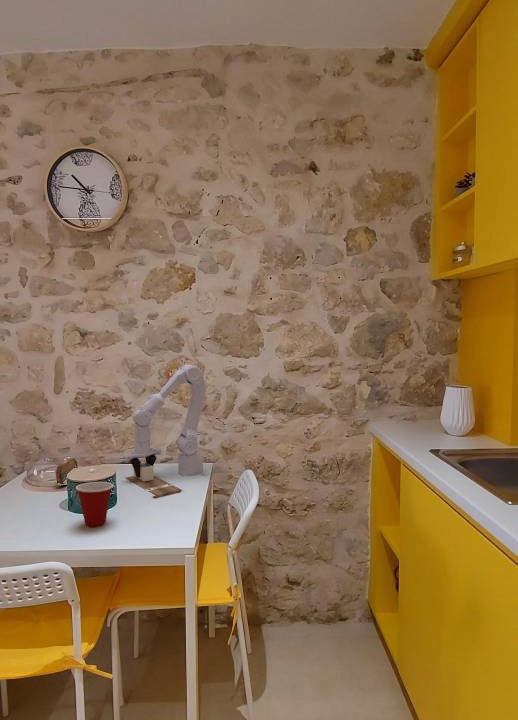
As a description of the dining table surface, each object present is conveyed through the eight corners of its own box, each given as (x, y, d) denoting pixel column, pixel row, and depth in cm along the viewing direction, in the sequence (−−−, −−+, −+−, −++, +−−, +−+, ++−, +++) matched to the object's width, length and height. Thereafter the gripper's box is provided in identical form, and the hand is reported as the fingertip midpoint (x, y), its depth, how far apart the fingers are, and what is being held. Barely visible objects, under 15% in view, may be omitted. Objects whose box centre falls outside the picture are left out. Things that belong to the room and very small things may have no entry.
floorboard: (148, 475, 199) (148, 472, 199) (181, 492, 179) (181, 488, 179) (124, 480, 193) (124, 477, 193) (155, 498, 173) (155, 495, 173)
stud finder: (143, 474, 196) (142, 460, 196) (153, 479, 189) (153, 465, 189) (133, 476, 194) (133, 462, 193) (143, 481, 187) (143, 467, 186)
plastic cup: (121, 518, 155) (120, 481, 154) (100, 532, 145) (99, 492, 144) (92, 514, 158) (90, 477, 158) (69, 528, 148) (67, 488, 147)
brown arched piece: (63, 489, 184) (62, 466, 183) (54, 489, 184) (53, 466, 183) (78, 476, 199) (78, 455, 198) (71, 476, 199) (70, 455, 198)
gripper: (155, 436, 198) (155, 469, 199) (120, 442, 189) (121, 477, 190) (163, 439, 192) (164, 474, 193) (127, 445, 183) (129, 481, 184)
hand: (143, 475), depth 191 cm, fingers closed on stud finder, 4 cm apart
